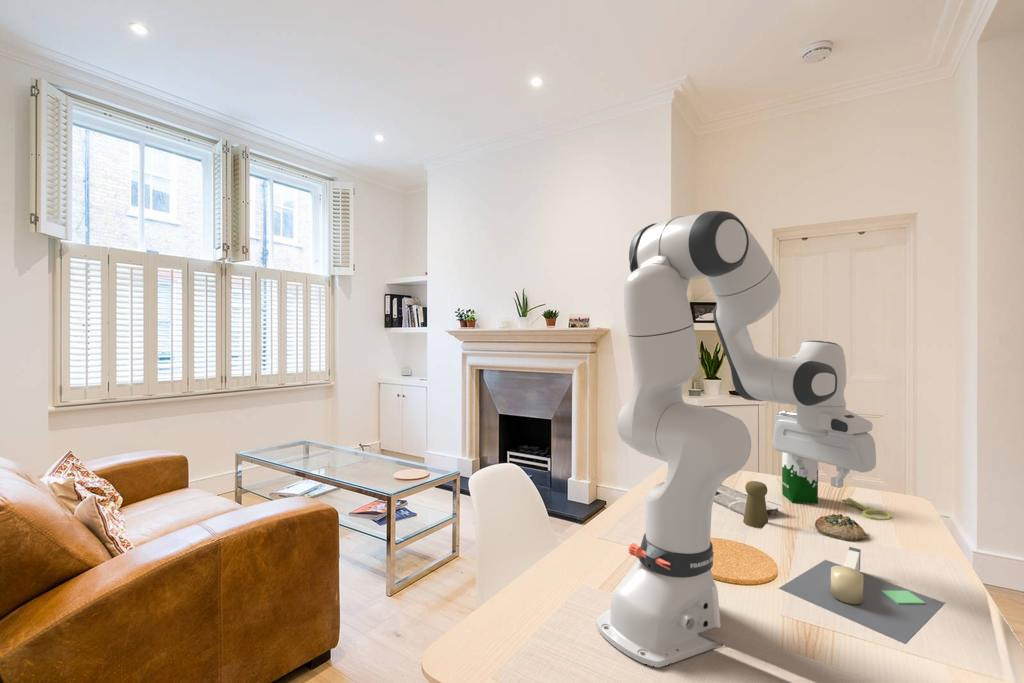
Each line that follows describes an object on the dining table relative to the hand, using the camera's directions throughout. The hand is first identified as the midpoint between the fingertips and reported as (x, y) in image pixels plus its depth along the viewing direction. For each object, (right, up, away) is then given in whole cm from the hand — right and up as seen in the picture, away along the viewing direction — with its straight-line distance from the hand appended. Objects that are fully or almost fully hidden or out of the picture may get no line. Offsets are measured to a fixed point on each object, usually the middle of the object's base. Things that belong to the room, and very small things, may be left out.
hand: (819, 481), depth 103 cm
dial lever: (+1, -18, -8) cm, 20 cm away
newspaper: (-1, -18, +46) cm, 49 cm away
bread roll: (+18, -19, +20) cm, 32 cm away
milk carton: (+21, -18, +43) cm, 51 cm away
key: (+34, -19, +33) cm, 51 cm away
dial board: (0, -20, -12) cm, 23 cm away
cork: (-1, -19, +25) cm, 31 cm away
